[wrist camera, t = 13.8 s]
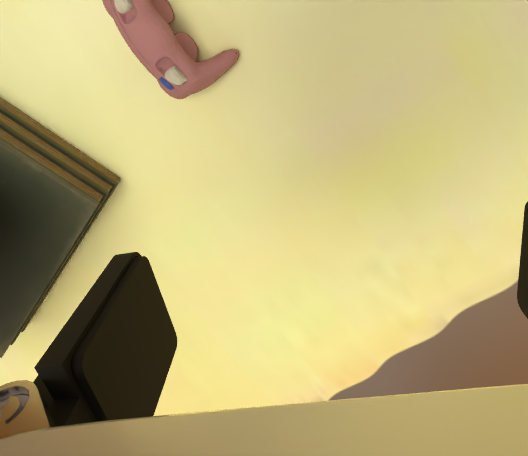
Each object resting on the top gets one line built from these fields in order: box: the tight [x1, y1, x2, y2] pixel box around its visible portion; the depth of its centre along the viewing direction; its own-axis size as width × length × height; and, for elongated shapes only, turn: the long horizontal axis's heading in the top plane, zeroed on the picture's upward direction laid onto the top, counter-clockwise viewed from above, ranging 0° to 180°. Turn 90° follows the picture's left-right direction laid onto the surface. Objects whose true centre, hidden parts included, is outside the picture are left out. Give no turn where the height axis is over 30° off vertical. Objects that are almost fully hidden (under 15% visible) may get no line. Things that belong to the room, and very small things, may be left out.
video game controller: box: [103, 0, 239, 99], centre depth 32 cm, size 10×5×7 cm, turn 33°
